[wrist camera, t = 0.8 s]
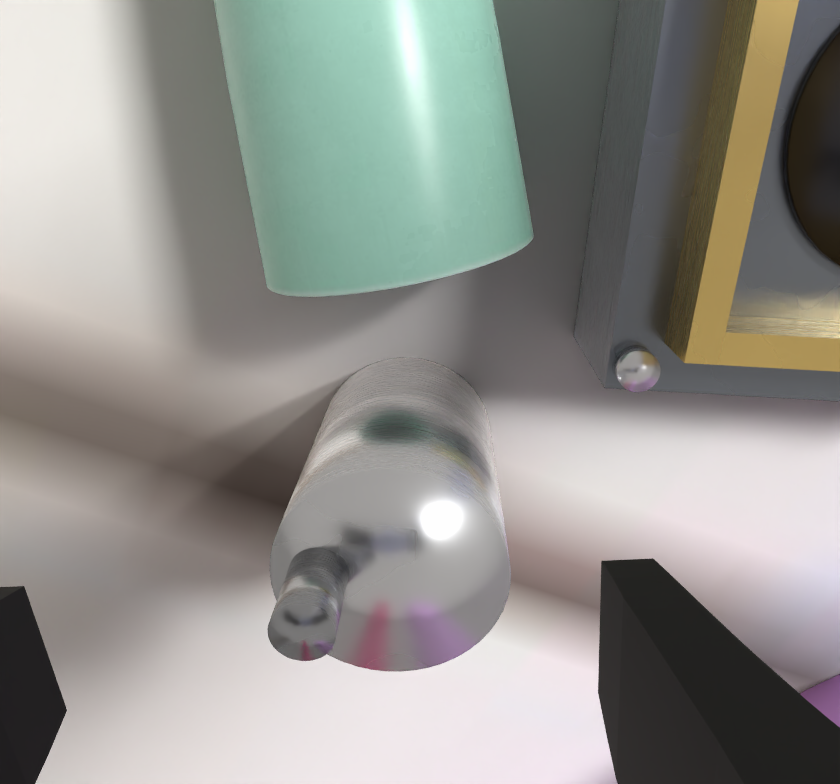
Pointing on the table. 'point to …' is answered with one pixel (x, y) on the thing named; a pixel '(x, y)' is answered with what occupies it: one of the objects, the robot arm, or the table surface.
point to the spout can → (393, 526)
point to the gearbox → (718, 202)
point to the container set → (826, 698)
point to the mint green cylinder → (373, 140)
